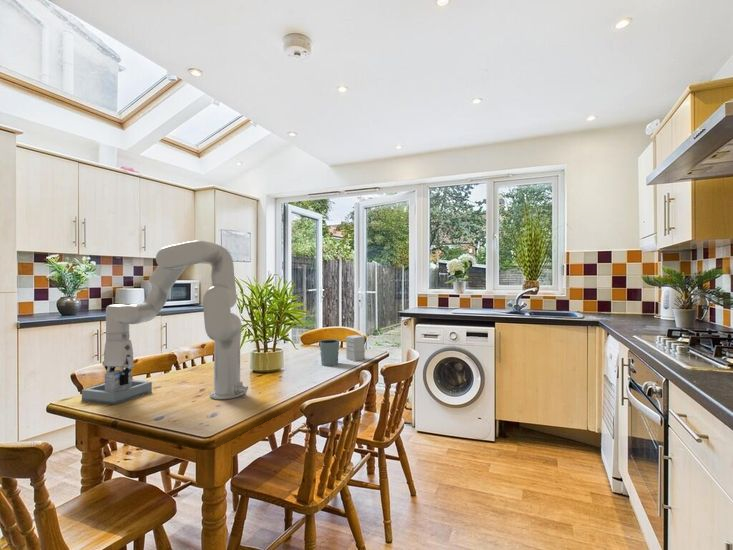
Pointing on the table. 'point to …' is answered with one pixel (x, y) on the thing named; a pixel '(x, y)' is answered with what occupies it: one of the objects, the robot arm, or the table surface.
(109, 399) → the tray
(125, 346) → the robot arm
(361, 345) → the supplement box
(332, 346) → the grey-green bucket
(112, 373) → the medicine box
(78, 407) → the table surface
